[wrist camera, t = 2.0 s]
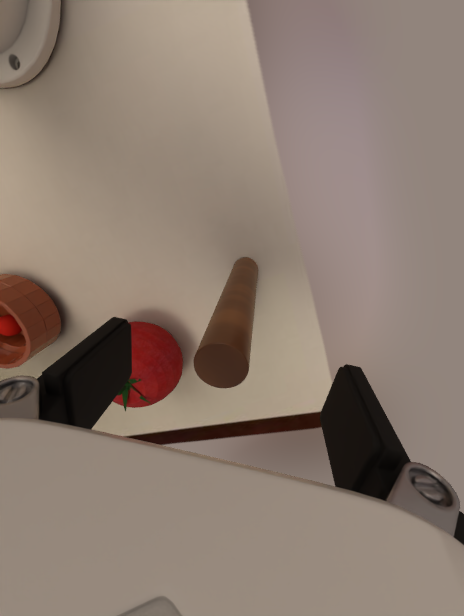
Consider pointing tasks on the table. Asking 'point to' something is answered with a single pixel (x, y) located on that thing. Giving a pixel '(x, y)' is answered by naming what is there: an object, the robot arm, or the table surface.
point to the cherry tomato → (9, 325)
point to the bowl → (26, 320)
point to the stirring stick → (230, 330)
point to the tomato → (151, 366)
